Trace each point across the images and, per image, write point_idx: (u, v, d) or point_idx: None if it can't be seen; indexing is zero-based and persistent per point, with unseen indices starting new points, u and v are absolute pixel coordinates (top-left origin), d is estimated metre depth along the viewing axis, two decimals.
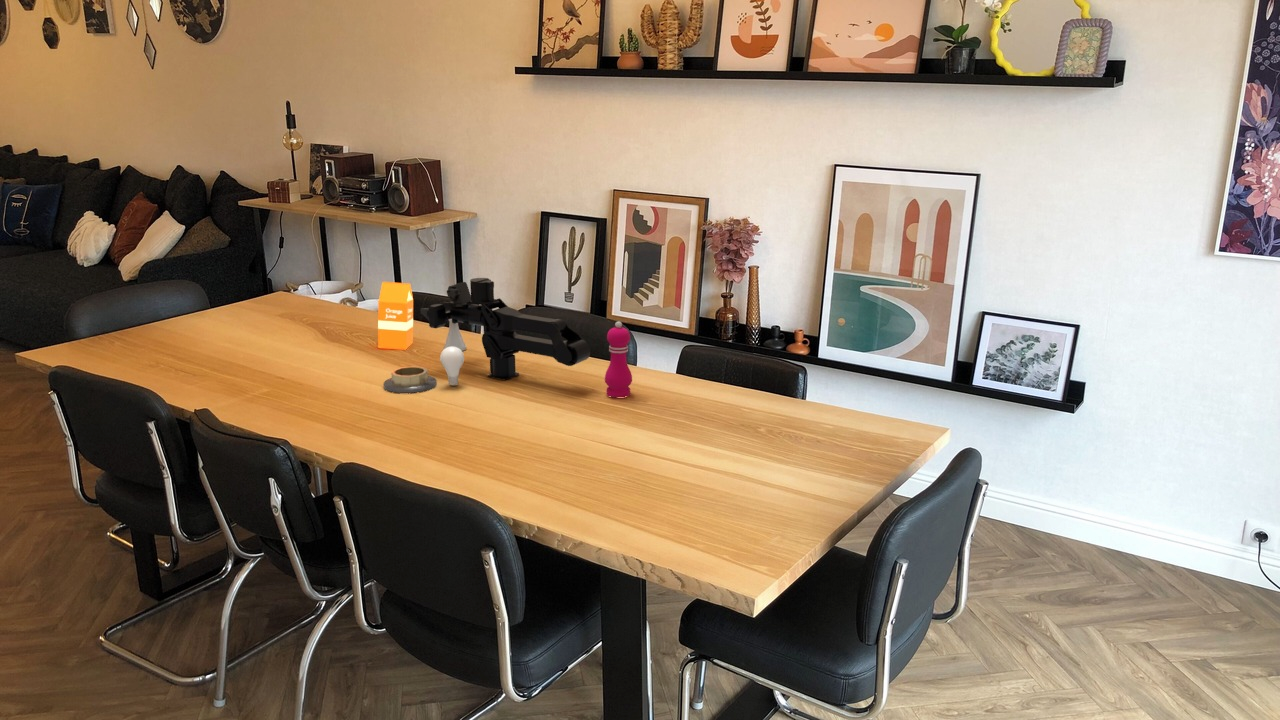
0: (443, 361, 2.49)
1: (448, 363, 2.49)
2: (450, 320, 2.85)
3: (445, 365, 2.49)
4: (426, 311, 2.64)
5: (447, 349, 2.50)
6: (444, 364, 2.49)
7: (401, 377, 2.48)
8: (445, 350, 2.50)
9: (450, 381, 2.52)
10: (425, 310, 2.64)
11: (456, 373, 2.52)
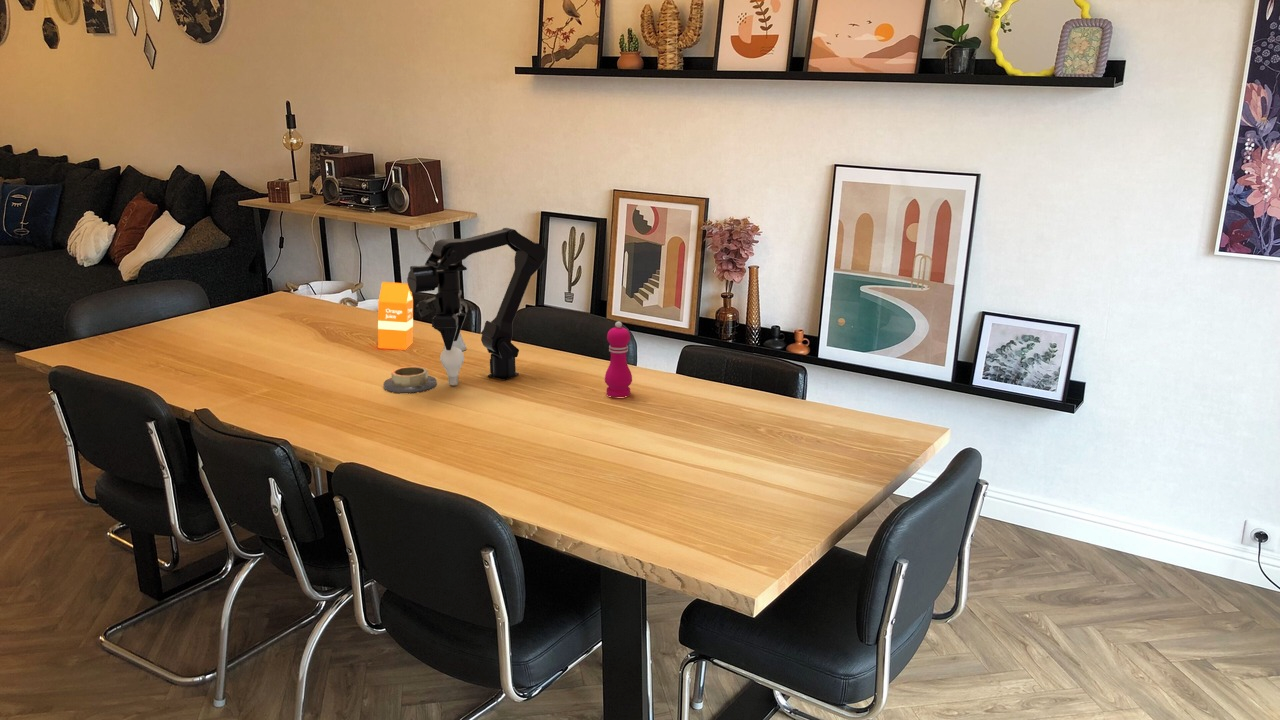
0: (443, 361, 2.49)
1: (448, 363, 2.49)
2: None
3: (445, 365, 2.49)
4: (445, 339, 2.44)
5: None
6: (444, 364, 2.49)
7: (401, 377, 2.48)
8: (445, 350, 2.50)
9: (450, 381, 2.52)
10: (445, 341, 2.44)
11: (456, 373, 2.52)
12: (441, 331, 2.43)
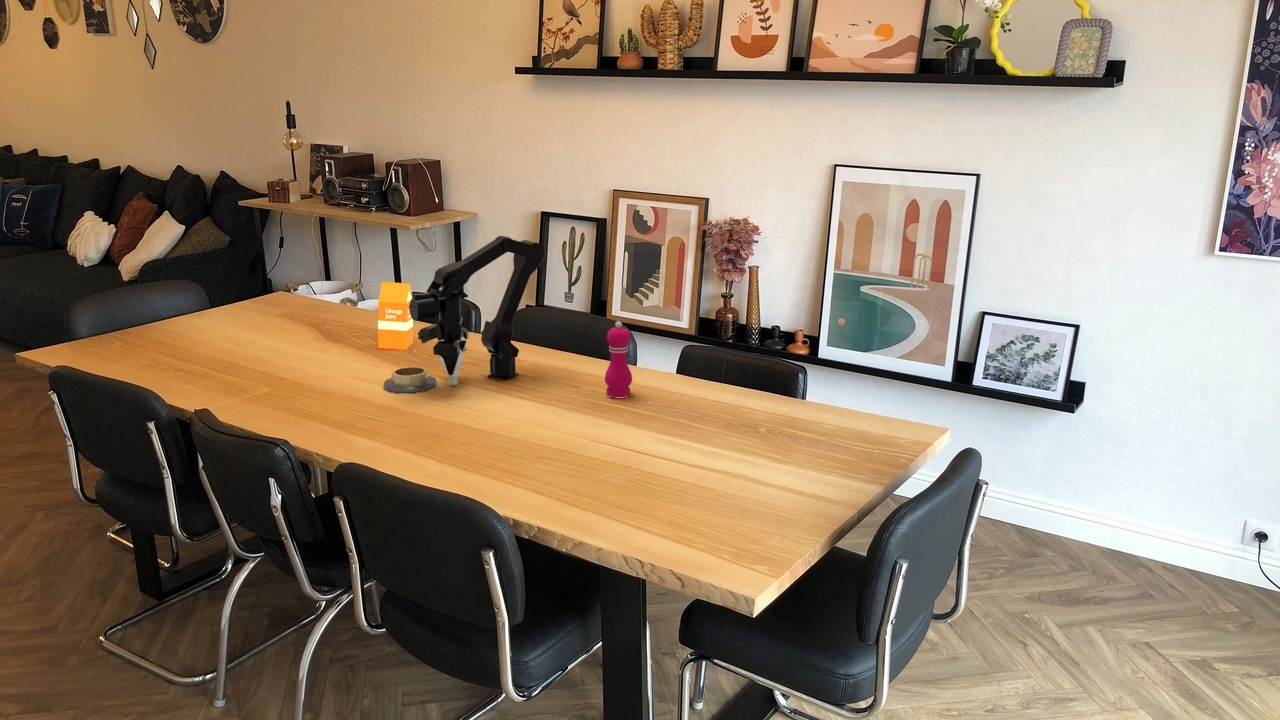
0: (443, 361, 2.49)
1: None
2: None
3: (445, 365, 2.49)
4: (447, 364, 2.48)
5: None
6: (444, 364, 2.49)
7: (401, 377, 2.48)
8: None
9: (450, 381, 2.52)
10: (447, 366, 2.48)
11: (456, 373, 2.52)
12: (443, 356, 2.46)
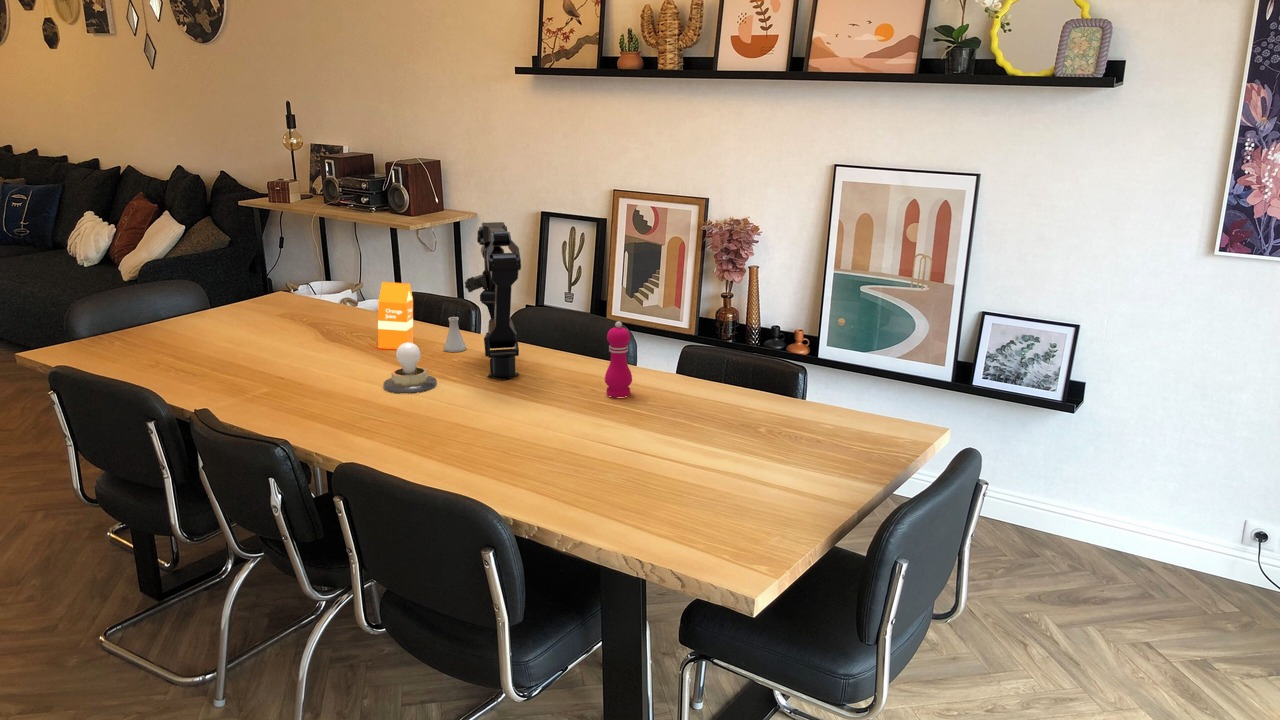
0: (399, 357, 2.48)
1: (403, 359, 2.48)
2: (450, 320, 2.84)
3: (401, 361, 2.49)
4: (491, 312, 2.65)
5: (402, 345, 2.49)
6: (400, 360, 2.49)
7: (401, 377, 2.48)
8: (401, 346, 2.49)
9: None
10: (491, 314, 2.66)
11: (412, 369, 2.51)
12: (488, 305, 2.64)
